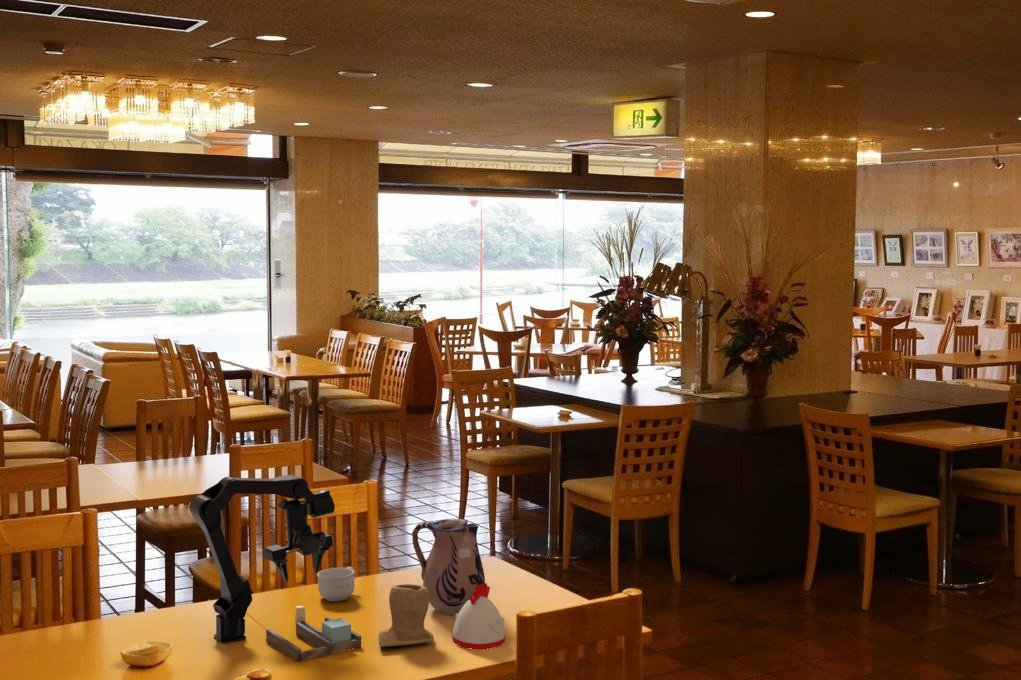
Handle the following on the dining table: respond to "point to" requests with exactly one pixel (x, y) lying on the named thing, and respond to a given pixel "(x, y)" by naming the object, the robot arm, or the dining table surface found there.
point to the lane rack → (313, 638)
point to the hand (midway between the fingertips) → (301, 577)
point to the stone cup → (407, 616)
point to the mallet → (327, 627)
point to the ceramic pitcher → (450, 563)
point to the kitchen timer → (479, 622)
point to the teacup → (336, 583)
